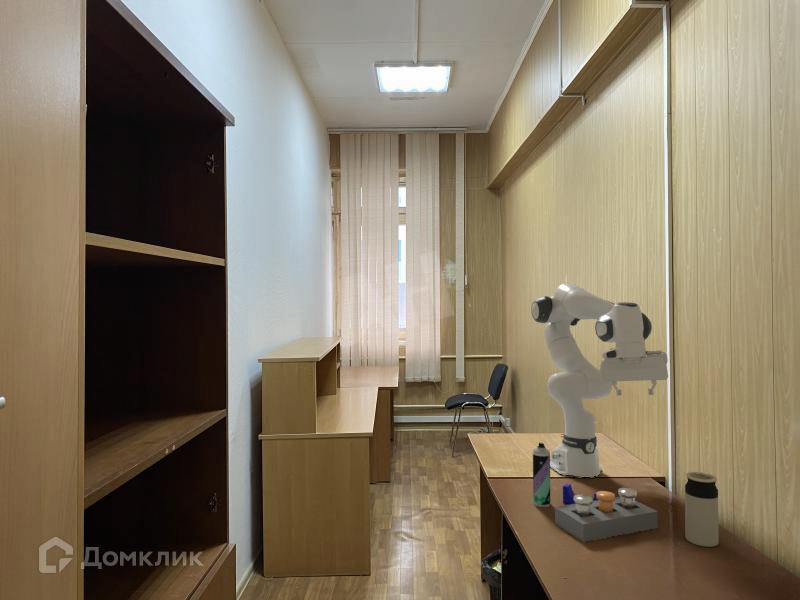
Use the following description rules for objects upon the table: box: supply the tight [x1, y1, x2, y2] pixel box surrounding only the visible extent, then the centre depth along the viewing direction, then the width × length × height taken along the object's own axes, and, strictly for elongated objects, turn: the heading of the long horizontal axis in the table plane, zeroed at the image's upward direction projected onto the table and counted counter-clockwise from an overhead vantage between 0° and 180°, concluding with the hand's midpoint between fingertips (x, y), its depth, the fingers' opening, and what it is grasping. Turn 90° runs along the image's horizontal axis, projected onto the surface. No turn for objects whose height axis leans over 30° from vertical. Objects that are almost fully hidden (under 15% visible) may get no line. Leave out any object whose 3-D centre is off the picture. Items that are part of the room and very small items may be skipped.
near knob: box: [574, 494, 593, 517], centre depth 156 cm, size 5×5×6 cm
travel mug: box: [684, 471, 719, 548], centre depth 148 cm, size 8×8×18 cm
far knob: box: [617, 487, 638, 510], centre depth 161 cm, size 5×5×6 cm
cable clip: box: [562, 483, 600, 505], centre depth 174 cm, size 12×4×6 cm, turn 47°
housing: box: [554, 496, 659, 543], centre depth 158 cm, size 13×26×5 cm, turn 109°
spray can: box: [532, 442, 551, 508], centre depth 176 cm, size 6×6×20 cm
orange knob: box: [595, 490, 616, 513], centre depth 158 cm, size 5×5×6 cm
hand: (635, 395), depth 172 cm, fingers open, 8 cm apart
